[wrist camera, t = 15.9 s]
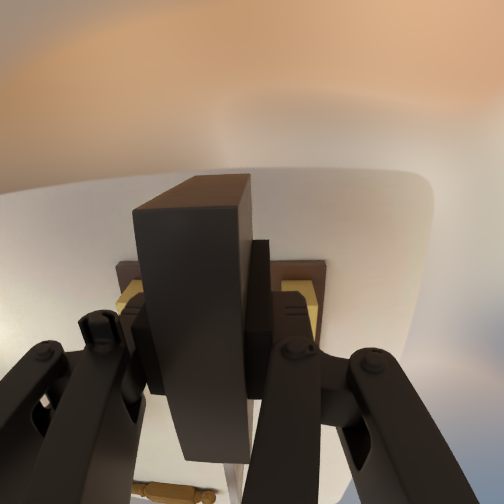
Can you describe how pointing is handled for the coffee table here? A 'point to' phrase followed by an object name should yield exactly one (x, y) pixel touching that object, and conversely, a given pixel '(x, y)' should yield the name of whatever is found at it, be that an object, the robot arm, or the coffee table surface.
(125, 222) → the coffee table surface
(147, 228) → the knife
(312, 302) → the butter pat
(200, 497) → the tap handle
